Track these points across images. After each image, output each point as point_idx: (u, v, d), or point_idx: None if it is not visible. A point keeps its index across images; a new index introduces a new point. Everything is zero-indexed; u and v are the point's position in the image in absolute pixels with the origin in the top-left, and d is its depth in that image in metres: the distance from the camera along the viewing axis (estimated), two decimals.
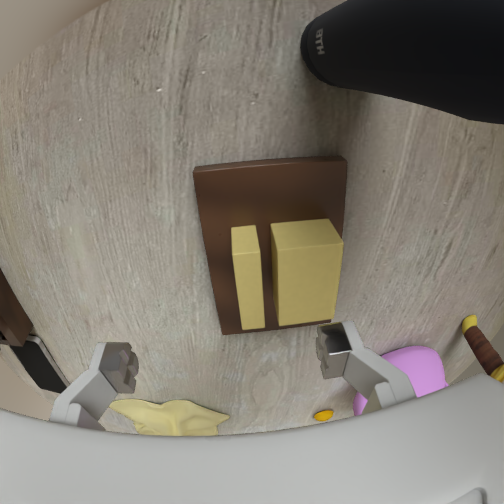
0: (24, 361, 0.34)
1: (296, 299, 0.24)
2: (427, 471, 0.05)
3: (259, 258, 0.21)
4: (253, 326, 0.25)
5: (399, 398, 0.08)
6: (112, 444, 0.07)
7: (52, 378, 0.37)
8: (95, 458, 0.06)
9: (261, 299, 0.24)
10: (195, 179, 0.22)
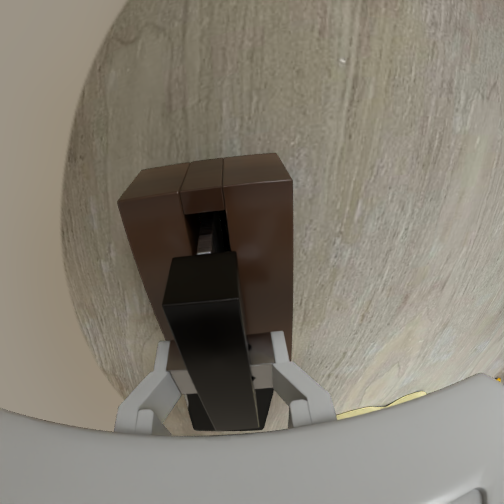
0: None
1: None
2: (426, 471, 0.05)
3: None
4: None
5: (316, 418, 0.08)
6: (112, 444, 0.07)
7: None
8: (95, 458, 0.06)
9: None
10: None
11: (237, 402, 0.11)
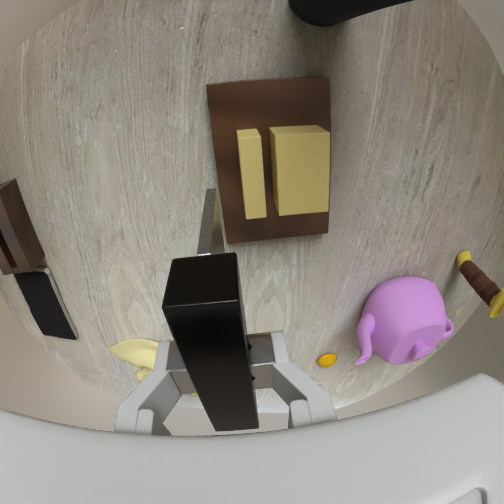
0: (30, 300, 0.38)
1: (293, 186, 0.27)
2: (427, 471, 0.05)
3: (260, 142, 0.25)
4: (256, 215, 0.29)
5: (316, 418, 0.08)
6: (112, 444, 0.07)
7: (57, 318, 0.40)
8: (95, 458, 0.06)
9: (262, 184, 0.27)
10: (208, 90, 0.25)
11: (237, 403, 0.11)
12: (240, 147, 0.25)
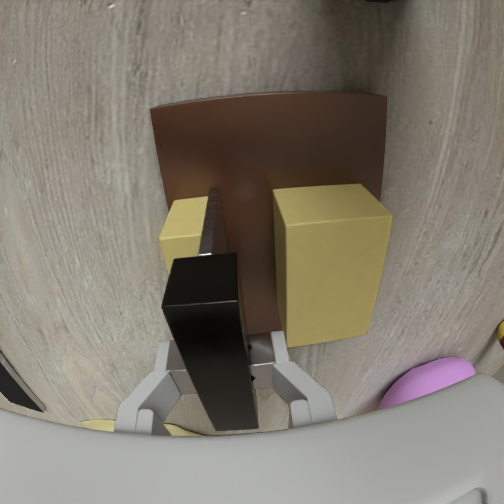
0: None
1: (314, 309, 0.15)
2: (426, 470, 0.05)
3: None
4: None
5: (316, 418, 0.08)
6: (112, 444, 0.07)
7: (18, 393, 0.28)
8: (95, 458, 0.06)
9: None
10: (154, 119, 0.13)
11: (236, 403, 0.11)
12: (165, 255, 0.12)
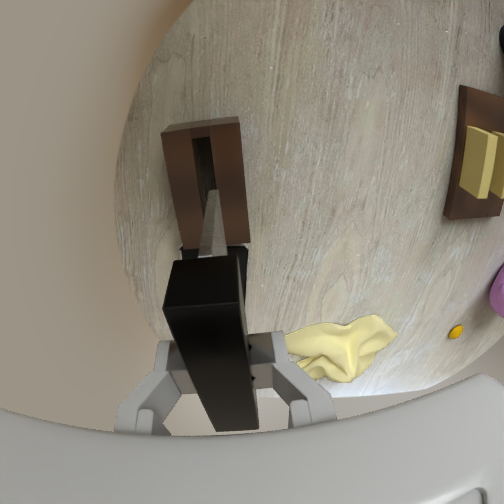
0: None
1: None
2: (426, 470, 0.05)
3: None
4: (483, 196, 0.27)
5: (316, 418, 0.08)
6: (112, 444, 0.07)
7: None
8: (95, 458, 0.06)
9: (491, 172, 0.25)
10: (467, 91, 0.24)
11: (237, 404, 0.11)
12: (488, 141, 0.23)
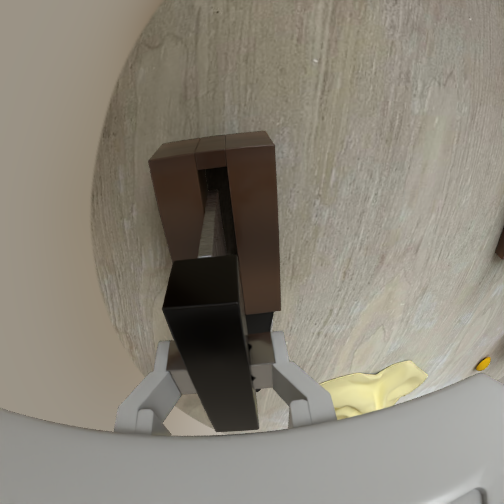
0: None
1: None
2: (427, 471, 0.05)
3: None
4: None
5: (316, 418, 0.08)
6: (112, 444, 0.07)
7: None
8: (95, 458, 0.06)
9: None
10: None
11: (237, 404, 0.11)
12: None
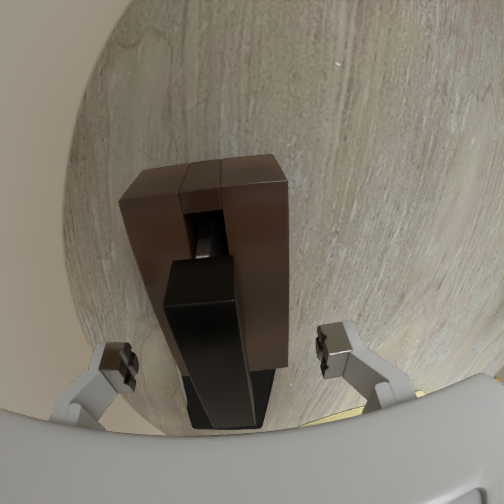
0: None
1: None
2: (427, 471, 0.05)
3: None
4: None
5: (399, 398, 0.08)
6: (112, 444, 0.07)
7: None
8: (95, 458, 0.06)
9: None
10: None
11: (234, 400, 0.12)
12: None
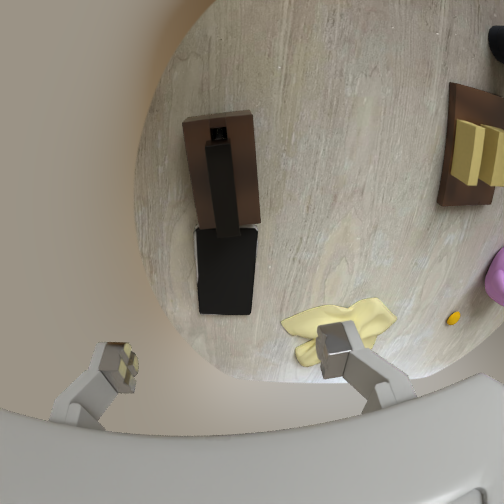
0: (207, 268, 0.39)
1: (500, 167, 0.29)
2: (426, 470, 0.05)
3: (484, 132, 0.26)
4: (472, 183, 0.30)
5: (399, 398, 0.08)
6: (112, 444, 0.07)
7: (239, 289, 0.42)
8: (95, 458, 0.06)
9: (480, 161, 0.28)
10: (456, 87, 0.27)
11: (229, 206, 0.27)
12: (476, 133, 0.26)
